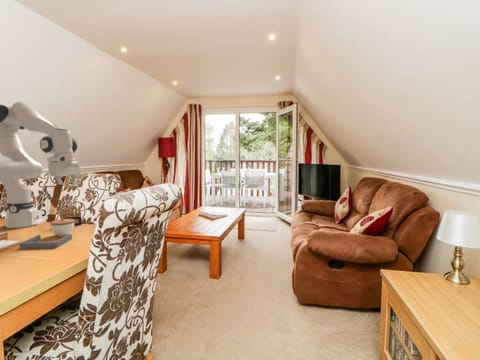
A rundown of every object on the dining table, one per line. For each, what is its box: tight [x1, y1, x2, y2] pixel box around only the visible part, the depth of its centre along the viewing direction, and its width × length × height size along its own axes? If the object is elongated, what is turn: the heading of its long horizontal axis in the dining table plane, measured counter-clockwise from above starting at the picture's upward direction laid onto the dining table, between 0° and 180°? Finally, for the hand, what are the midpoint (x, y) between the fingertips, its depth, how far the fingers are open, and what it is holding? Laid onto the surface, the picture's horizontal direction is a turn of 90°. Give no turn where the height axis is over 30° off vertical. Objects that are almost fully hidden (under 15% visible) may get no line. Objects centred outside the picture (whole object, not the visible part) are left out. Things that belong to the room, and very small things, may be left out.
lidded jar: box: [50, 217, 75, 238], centre depth 148 cm, size 11×11×9 cm
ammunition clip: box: [60, 205, 83, 227], centre depth 168 cm, size 11×2×12 cm, turn 116°
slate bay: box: [19, 233, 73, 250], centre depth 134 cm, size 14×16×2 cm
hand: (66, 183), depth 151 cm, fingers open, 8 cm apart
